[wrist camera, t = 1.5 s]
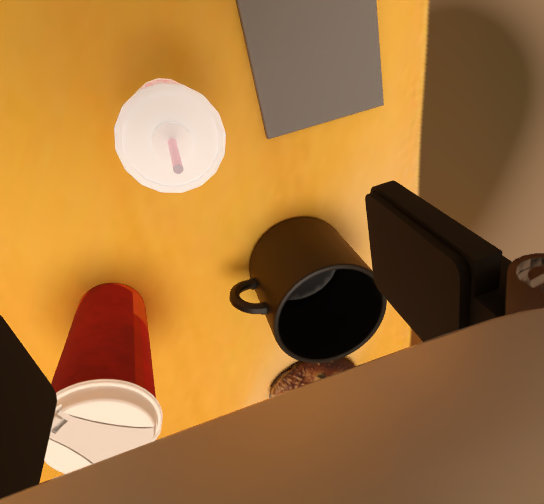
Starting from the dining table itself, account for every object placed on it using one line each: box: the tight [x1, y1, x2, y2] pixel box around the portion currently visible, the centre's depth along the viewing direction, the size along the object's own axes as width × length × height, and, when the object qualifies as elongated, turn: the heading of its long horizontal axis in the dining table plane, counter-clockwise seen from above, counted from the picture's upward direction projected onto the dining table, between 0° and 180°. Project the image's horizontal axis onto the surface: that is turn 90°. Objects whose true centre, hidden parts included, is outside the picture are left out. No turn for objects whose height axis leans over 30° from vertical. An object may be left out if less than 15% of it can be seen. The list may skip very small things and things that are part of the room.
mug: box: [230, 218, 387, 363], centre depth 37 cm, size 9×12×9 cm
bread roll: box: [269, 357, 356, 398], centre depth 49 cm, size 11×11×5 cm
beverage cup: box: [114, 78, 226, 193], centre depth 25 cm, size 6×6×14 cm
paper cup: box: [44, 283, 162, 474], centre depth 32 cm, size 8×8×14 cm
